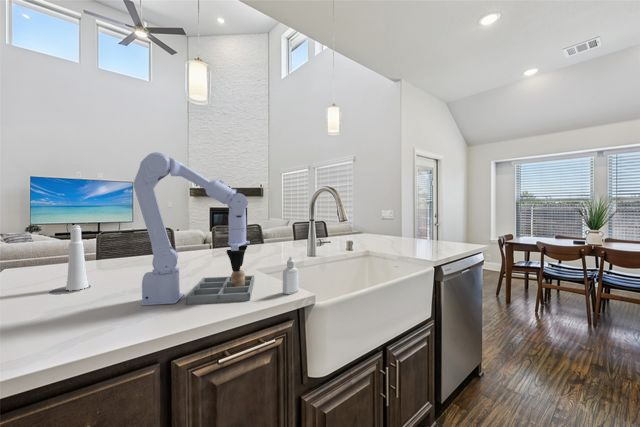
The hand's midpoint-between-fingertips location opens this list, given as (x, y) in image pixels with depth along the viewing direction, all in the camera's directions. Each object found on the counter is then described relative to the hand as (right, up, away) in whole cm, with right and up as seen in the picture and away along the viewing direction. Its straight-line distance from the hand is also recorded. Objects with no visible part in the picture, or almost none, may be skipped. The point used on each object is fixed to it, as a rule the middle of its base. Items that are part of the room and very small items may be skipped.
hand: (237, 268), depth 92 cm
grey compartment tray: (-4, -8, 0) cm, 9 cm away
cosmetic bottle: (-57, -8, +2) cm, 57 cm away
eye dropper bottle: (+18, -8, -2) cm, 20 cm away
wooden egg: (0, -7, 0) cm, 7 cm away
